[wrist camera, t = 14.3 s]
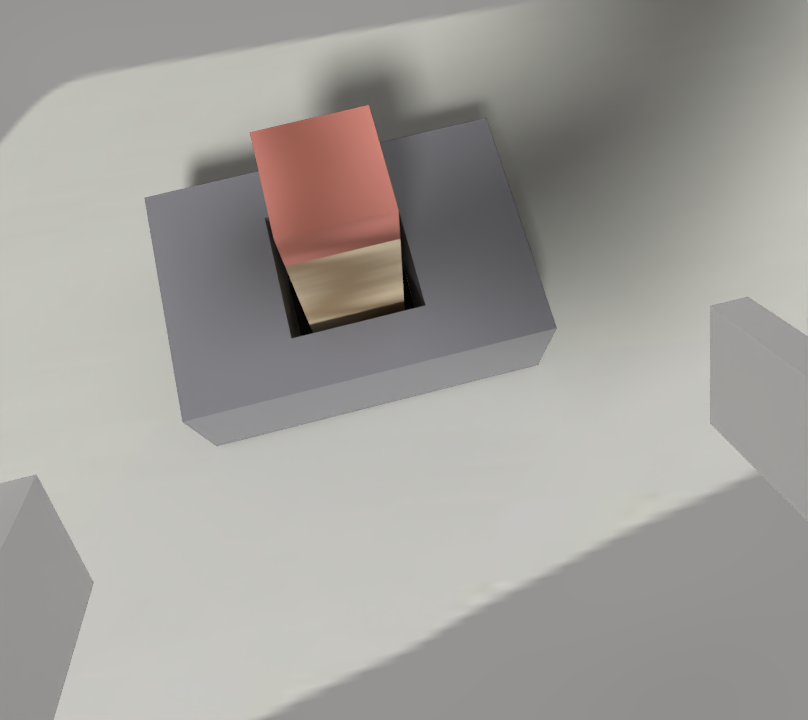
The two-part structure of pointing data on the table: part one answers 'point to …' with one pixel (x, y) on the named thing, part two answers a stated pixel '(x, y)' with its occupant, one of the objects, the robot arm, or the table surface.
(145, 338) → the table surface
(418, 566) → the table surface
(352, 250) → the plug peg
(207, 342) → the socket block
